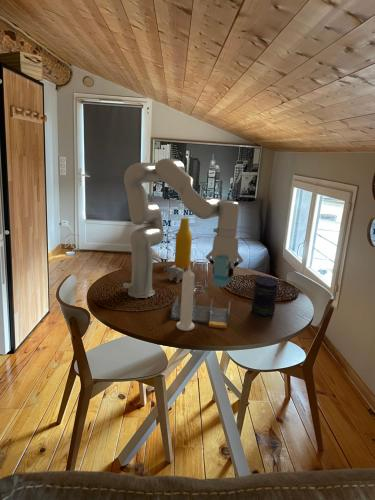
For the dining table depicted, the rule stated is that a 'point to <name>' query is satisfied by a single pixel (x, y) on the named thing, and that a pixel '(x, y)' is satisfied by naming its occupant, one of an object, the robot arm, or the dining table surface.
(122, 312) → the dining table surface
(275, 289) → the storage jar
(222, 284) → the data package
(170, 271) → the gray elephant figurine
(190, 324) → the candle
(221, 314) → the rack
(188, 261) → the beer bottle
